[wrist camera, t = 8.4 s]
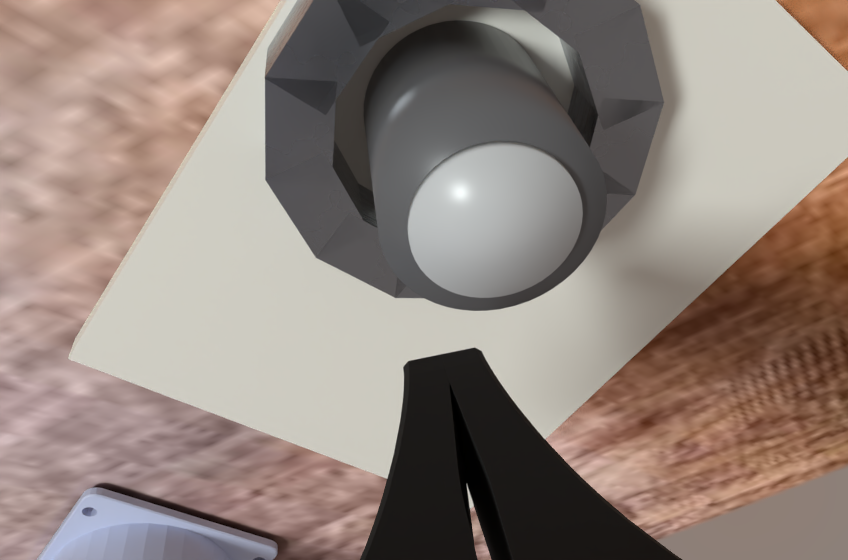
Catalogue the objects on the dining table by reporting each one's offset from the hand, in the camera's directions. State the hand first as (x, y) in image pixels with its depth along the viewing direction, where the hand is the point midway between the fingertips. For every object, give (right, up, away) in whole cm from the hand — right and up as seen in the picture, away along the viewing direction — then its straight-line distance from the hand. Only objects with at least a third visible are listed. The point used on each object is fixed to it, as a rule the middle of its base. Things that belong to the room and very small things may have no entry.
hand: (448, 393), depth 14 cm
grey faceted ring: (0, +7, +7) cm, 10 cm away
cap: (0, +7, +6) cm, 9 cm away
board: (+1, +4, +10) cm, 10 cm away
